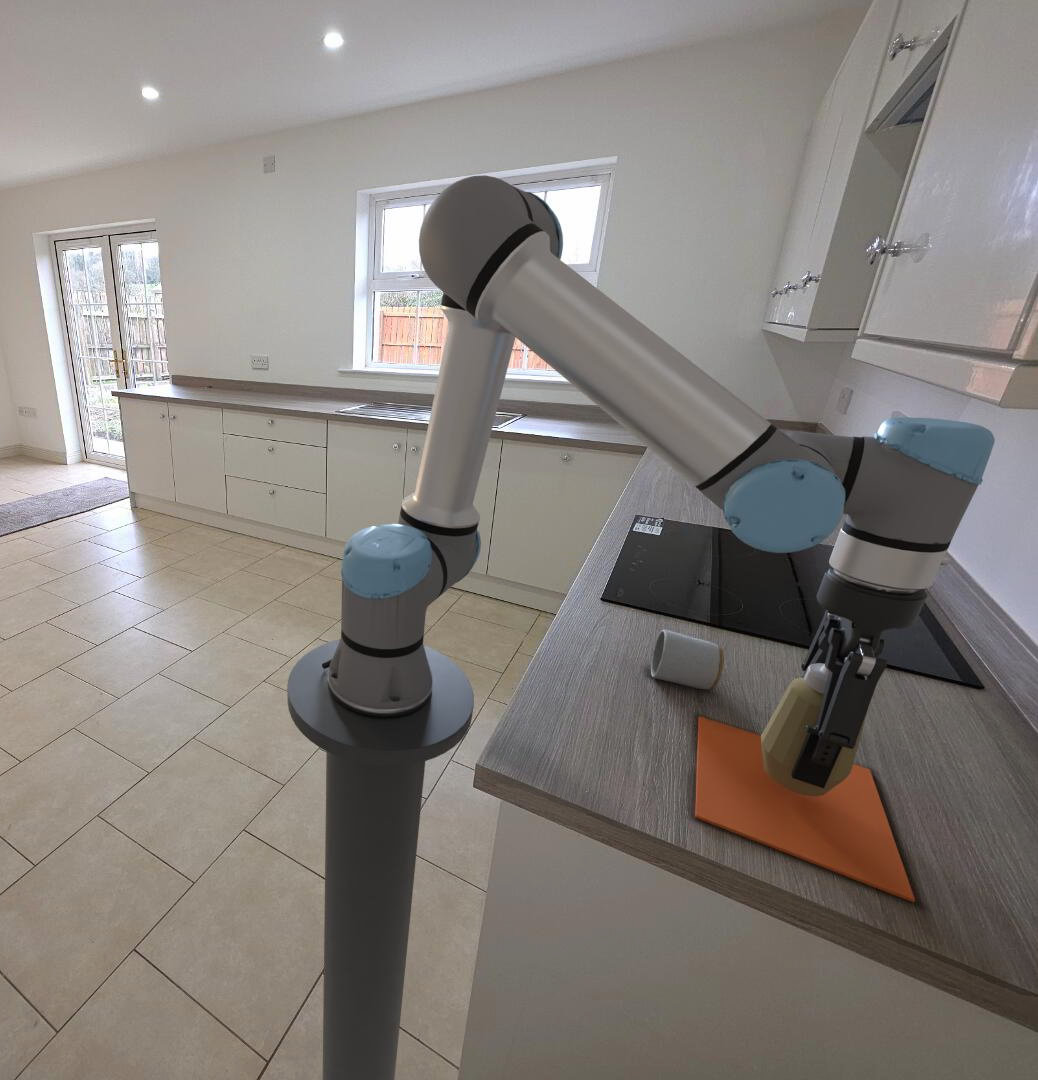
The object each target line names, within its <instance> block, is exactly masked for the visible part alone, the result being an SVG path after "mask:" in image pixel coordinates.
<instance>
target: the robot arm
mask: <svg viewBox="0 0 1038 1080" xmlns="http://www.w3.org/2000/svg"><path fill="white" fill-rule="evenodd" d="M563 248H564V234H563V230H562V226H561V223H560V220H559V218H558V216H557V215H556V214H555V212H554V211H553V210H552V209H551V207H550V205H549V204H548V203H547V202H546V201H545V200H543V199H542V198H541V197H540V196H539V195H536V194H535V193H533V192H531V191H526V190H522V189H521V188H518V187H516V186H514V185H512V184H510V183H508V182H507V181H505V180H503V179H501V178H497V177H495V176H490V175H485V174H484V175H472V176H468V177H465V178H462V179H459V180H457V181H454V182H453V183H452V184H451V185H449V186H448V187H445V188H444V189H443V190H442V191H441V192H440V193H439V195H438V196H437V197H436V198H435V199H434V200H433V201H432V202H431V204H430V205H429V207H428V209H427V211H426V212H425V215H424V217H423V220H422V222H421V226H420V231H419V236H418V253H419V257H420V262H421V265H422V268H423V270H424V272H425V274H426V276H427V277H428V279H429V280H430V282H431V283H433V284H434V286H435V287H436V288H437V289H439V290H440V291H441V292H442V297H441V302H440V307H439V308H440V310H441V311H442V313H443V315H444V316H445V318H446V319H447V322H448V327H447V332H446V337H445V342H444V346H443V352H442V356H441V361H440V366H439V371H438V376H437V380H436V381H437V382H436V385H435V391H434V396H433V399H432V405H431V411H430V416H429V420H428V425H427V430H426V435H425V439H424V444H423V450H422V455H421V459H420V460H421V461H420V463H419V470H418V474H417V479H416V484H415V489H414V492H413V493H410V494H409V495H407V496H406V497H404V498H403V500H402V502H401V506H400V511H399V516H398V521H397V523H384V524H383V523H382V524H380V526H375V525H371V526H368V527H365V528H363V529H360V530H359V531H357V532H356V533H354V534H353V535H352V536H351V537H350V538H349V539H347V540H348V541H347V542H346V544H345V546H344V549H343V556H342V562H341V567H340V575H341V617H340V619H341V620H340V625H341V626H340V631H341V632H340V638H339V639H340V641H339V644H338V646H337V649H336V651H335V653H334V656H333V658H332V659H331V660H329V661H327V662H325V663H322V667H323V668H324V669H326V668H328V667H329V670H328V689H329V692H330V694H331V696H332V697H333V699H334V700H335V701H336V702H337V703H338V704H340V705H341V706H342V707H344V708H345V709H347V710H349V711H351V712H353V713H356V714H358V715H362V716H365V717H370V718H377V719H393V718H400V717H404V716H408V715H411V714H413V713H415V712H417V711H419V710H420V709H422V708H423V707H424V706H425V705H426V704H427V703H428V701H429V700H430V697H431V694H432V685H433V679H432V673H431V670H430V666H429V662H428V659H427V655H426V652H425V648H424V646H425V644H424V636H425V627H426V626H425V625H426V615H427V611H428V608H429V606H430V605H431V604H432V603H433V602H435V601H436V600H437V599H438V598H440V597H441V596H442V595H443V594H444V593H446V592H447V591H448V590H449V589H450V588H452V587H453V586H454V585H456V583H459V582H461V581H462V580H463V579H464V578H465V577H466V576H468V574H469V573H470V571H471V570H472V569H473V568H474V566H475V565H476V563H477V561H478V560H479V556H480V553H481V548H482V541H481V534H480V531H479V530H478V527H479V523H480V519H481V514H480V512H479V511H478V510H477V508H476V507H475V505H474V501H475V497H476V492H477V489H478V485H479V481H480V477H481V473H482V470H483V466H484V463H485V462H484V461H485V458H486V453H487V450H488V446H489V443H490V438H491V435H492V431H493V426H494V424H495V418H496V415H497V411H498V408H499V403H500V401H501V400H500V399H501V395H502V393H503V389H504V384H505V380H506V378H507V377H506V376H507V371H508V369H509V365H510V361H511V356H512V353H513V349H514V347H515V346H514V345H515V341H516V339H517V340H519V342H521V343H522V344H523V345H524V346H526V347H527V348H528V349H529V350H530V351H531V352H533V353H534V354H535V355H536V356H538V357H539V358H540V359H541V360H542V361H543V362H544V363H546V364H547V365H548V366H550V367H551V368H552V369H553V370H554V371H555V372H557V374H559V375H560V376H561V377H563V378H564V379H565V380H566V381H567V382H569V383H570V385H572V386H574V387H575V388H576V389H577V390H578V391H579V392H581V393H582V394H583V395H584V396H586V397H587V398H588V399H589V400H590V401H592V402H593V403H594V404H595V406H598V407H599V408H600V409H601V410H602V411H604V412H605V413H606V414H607V415H608V416H610V417H611V418H612V419H613V420H614V421H616V422H617V423H618V424H619V425H620V426H622V427H623V428H624V429H625V430H627V432H629V433H630V434H631V435H633V436H634V437H635V438H636V439H637V440H638V441H639V442H641V443H642V444H643V445H644V446H646V448H648V449H649V450H651V451H652V452H653V453H654V454H655V455H656V456H657V457H659V458H660V459H661V460H662V461H664V462H665V463H666V464H667V465H668V466H670V467H671V468H672V469H673V470H674V471H676V472H677V473H678V474H679V475H680V476H682V477H683V478H684V479H685V480H686V481H687V482H689V483H690V484H691V485H693V487H695V488H696V489H697V490H698V491H699V492H700V493H701V494H702V495H703V496H704V497H706V498H707V499H708V500H709V501H710V502H711V503H713V504H714V505H715V506H716V507H718V508H719V509H720V510H721V511H722V513H723V517H724V519H725V521H726V522H727V524H728V526H729V528H730V531H731V532H732V533H733V534H734V535H735V537H736V538H737V539H739V540H740V541H741V542H743V543H744V544H746V545H747V546H750V547H752V548H754V549H755V550H756V549H757V550H759V551H764V552H768V553H773V554H774V553H775V554H788V553H796V552H801V551H804V550H808V549H810V548H812V547H815V546H816V545H819V544H821V543H823V542H824V541H825V540H826V539H827V538H829V537H830V536H831V535H832V534H833V533H834V532H835V531H836V529H837V528H838V526H839V525H840V523H841V521H842V518H843V515H846V516H845V517H846V518H845V520H844V522H843V524H842V526H841V528H840V530H839V532H838V536H837V538H836V540H835V544H834V546H833V549H832V552H831V554H830V558H829V560H828V563H829V566H830V568H828V569H826V570H825V572H824V575H823V577H822V580H821V583H820V586H819V588H818V590H817V593H816V601H817V602H818V604H819V605H820V606H821V607H822V608H823V609H825V612H824V615H823V618H822V620H821V621H820V624H819V626H818V628H817V630H816V632H815V635H814V637H813V639H812V642H811V643H810V646H809V648H808V651H807V652H806V655H805V657H804V659H803V661H802V663H801V664H800V668H801V671H803V672H804V673H803V674H801V677H800V678H804V677H805V674H806V672H807V669H808V667H809V666H810V665H811V664H816V663H823V664H825V667H826V668H827V669H828V670H829V675H828V679H827V683H826V687H825V691H824V695H823V699H822V702H821V706H820V710H819V714H818V718H817V722H816V726H815V727H811V726H807V725H806V727H805V731H806V732H808V734H807V737H806V739H805V742H804V744H803V746H802V749H801V751H800V754H799V756H798V759H797V761H796V763H795V766H794V768H793V771H792V773H791V774H792V778H794V779H797V780H800V781H803V782H806V783H809V784H812V785H815V786H818V787H821V788H824V787H825V785H826V783H827V781H828V778H829V776H830V774H831V772H832V769H833V767H834V765H835V763H836V760H837V758H838V756H839V754H840V751H841V749H842V747H846V748H849V749H853V748H854V746H855V745H856V740H857V737H858V735H859V732H860V729H861V726H862V724H863V721H864V718H865V715H866V713H867V714H868V711H869V707H870V704H871V701H872V699H873V696H874V693H875V691H876V688H877V685H878V682H879V681H880V679H881V678H882V675H883V673H884V672H885V670H886V669H887V667H888V663H887V662H888V661H887V659H885V658H881V657H879V656H880V655H882V653H883V649H884V645H885V639H884V638H882V633H883V632H884V631H887V630H893V629H894V630H895V629H896V630H899V629H907V628H909V627H912V626H913V625H915V623H916V622H917V619H918V618H919V616H920V614H921V611H922V608H923V606H924V605H925V603H926V600H927V597H928V593H927V592H926V590H925V589H928V588H930V587H932V585H933V583H934V581H935V579H936V576H937V574H938V572H939V569H940V567H941V566H948V565H949V564H951V562H952V559H951V556H950V555H947V553H948V550H949V548H950V546H951V543H952V541H953V538H954V537H955V534H956V532H957V530H958V528H959V526H960V523H961V522H962V520H963V517H964V516H965V513H966V511H967V509H968V507H969V506H970V503H971V502H972V499H973V497H974V495H975V494H976V491H977V489H978V487H979V486H981V485H982V483H983V481H984V480H983V476H984V473H985V471H986V468H987V465H988V462H989V459H990V457H991V454H992V451H993V448H994V445H995V441H996V439H995V436H994V434H993V432H992V431H991V430H990V429H989V428H986V427H984V426H982V425H980V424H975V423H972V422H966V421H959V420H953V419H941V418H931V417H909V416H897V417H890V418H888V419H885V420H883V422H882V423H881V424H880V426H879V428H878V430H876V432H874V434H873V436H865V435H863V436H849V435H837V434H828V433H827V434H826V433H818V432H810V431H800V430H791V429H790V430H789V429H779V428H778V427H776V426H775V425H773V424H772V423H771V422H770V421H769V420H767V419H766V418H765V417H764V416H763V415H761V414H760V413H758V412H757V411H756V410H755V409H753V408H752V407H751V406H749V405H748V404H747V403H745V402H744V401H743V400H741V398H739V397H738V396H737V395H735V394H734V393H733V392H732V391H730V390H729V389H727V388H726V387H725V386H724V385H722V384H721V383H720V382H718V381H717V380H716V379H715V378H714V377H712V376H711V375H710V374H708V373H707V372H706V371H704V370H703V369H702V368H700V367H699V366H698V365H697V364H695V363H694V362H693V361H692V360H691V359H689V358H687V357H686V356H685V355H684V354H682V353H681V352H680V351H678V349H676V348H675V347H673V346H672V345H671V344H669V343H668V342H667V341H666V340H664V339H663V338H662V337H661V336H659V335H658V334H657V333H655V332H654V331H653V330H652V329H650V328H649V327H647V326H646V325H645V324H643V323H642V321H640V320H638V319H637V318H636V317H634V316H633V315H632V314H631V313H630V312H629V311H627V310H626V309H624V308H623V307H622V306H620V305H619V304H618V303H617V302H615V301H614V300H612V299H611V298H610V297H609V296H608V295H606V294H605V293H604V292H602V291H601V290H600V289H598V287H596V286H594V285H593V284H592V283H591V282H589V280H587V279H586V278H585V277H583V276H581V275H580V274H579V273H578V272H577V271H576V270H574V269H573V268H572V267H570V266H569V265H568V264H567V263H565V262H564V261H563V260H561V259H562V255H563ZM836 661H837V662H841V663H844V665H843V666H842V665H838V664H836ZM867 710H868V711H867ZM866 716H867V715H866ZM865 719H866V718H865Z"/></svg>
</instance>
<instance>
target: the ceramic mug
mask: <svg viewBox="0 0 1038 1080" xmlns="http://www.w3.org/2000/svg"><path fill="white" fill-rule="evenodd" d="M724 653H725V652H724V651H723V648H722V647H721V646H720V645H718V644H716V643H714V642H711V641H708V640H705V639H702V638H696V637H693V636H689V635H687V634H682V633H680V632H675V631H672V630H668V629H663V630H661V631H660V632H659V634H658V636H657V638H656V641H655V644H654V647H653V652H652V658H651V664H650V674H651V677H652V678H654V679H656V680H661V681H665V682H668V683H673V684H678V685H682V686H687V687H691V688H695V689H698V690H713V689H715V688H716V687H717V685H718V684H719V682H720V680H721V677H722V675H723V672H724V671H723V670H724V666H725V654H724Z"/></svg>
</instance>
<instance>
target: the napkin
mask: <svg viewBox="0 0 1038 1080" xmlns="http://www.w3.org/2000/svg"><path fill="white" fill-rule="evenodd" d="M697 720H698V721H697V722H698V723H697V749H696V751H697V752H696V776H695V779H696V780H695V807H694V809H695V810H694V818H695V819H698V820H701V821H703V822H706V823H707V824H711V825H712V826H715V827H718V828H721V829H724V830H726V831H728V832H731V833H733V834H736V835H739V836H740V837H741V836H742V837H744V838H747V839H749V840H751V841H754V842H757V843H760V844H762V845H764V846H767V847H770V848H772V849H775V850H777V851H779V852H782V853H785V854H788V855H790V856H793V857H795V858H798V859H800V860H803V861H806V862H808V863H811V864H813V865H816V866H818V867H821V868H824V869H826V870H829V871H831V872H833V873H837V874H839V875H842V876H844V877H847V878H850V879H852V880H855V881H856V882H860V883H862V884H865V885H867V886H869V887H873V888H875V889H878V890H880V891H883V892H885V893H888V894H891V895H893V896H896V897H898V898H901V899H904V900H906V901H908V902H911V903H915V901H916V898H915V895H914V892H913V890H912V887H911V883H910V880H909V879H908V875H907V873H906V870H905V865H904V864H903V861H902V858H901V855H900V852H899V850H898V846H897V843H896V841H895V838H894V835H893V832H892V829H891V826H890V823H889V821H888V817H887V815H886V811H885V808H884V806H883V802H882V801H881V800H882V799H881V797H880V795H879V792H878V789H877V786H876V783H875V780H874V777H873V774H872V770H871V769H870V768H867V767H865V766H861V765H857V764H854V763H853V766H852V770H851V773H850V774H849V775H848V777H847V778H846V779H845V780H843V781H842V782H841V783H839V784H838V785H836V786H835V787H834V788H832V789H831V790H830V791H828V792H827V793H826V794H824V795H821V796H816V797H814V796H807V795H802V794H799V793H796V792H793V791H791V790H789V789H787V788H785V787H783V786H781V785H780V784H778V783H777V782H776V781H774V780H773V779H772V778H771V777H769V775H768V774H767V773H766V771H765V770H764V763H763V753H762V743H761V735H762V734H761V735H760V734H758V733H756V732H755V733H754V732H751V731H748V730H744V729H742V728H739V727H735V726H732V725H729V724H726V723H722V722H720V721H717V720H714V719H713V720H712V719H709V718H706V717H703V716H700V715H699V716H698V719H697Z"/></svg>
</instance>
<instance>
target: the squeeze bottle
mask: <svg viewBox="0 0 1038 1080" xmlns="http://www.w3.org/2000/svg"><path fill="white" fill-rule="evenodd" d="M836 664H838V665H842V666H843V665H844V663H841V662H837V661H836ZM828 675H829V670H828V669H827V668H826V667H825V664H823V663H816V664H811V665H810V666H809V667H808V669H807V672H806V674H805V677H804V678H801V677H798V678H794V679H793V680H792V681H791V682H790V683H789V685H788V687H787V688H786V689H785V691H784V693H783V695H782V697H781V699H780V701H779V702H778V704H777V706H776V707H775V709H774V712H773V714H772V715H771V717H770V719H769V721H768V722H767V724H766V726H765V728H764V729H763V732H762V733H761V743H762V753H763V763H764V770H765V771H766V773H767V774H768V775H769V777H771V778H772V779H773V780H774V781H776V782H777V783H778V784H780V785H781V786H783V787H785V788H787V789H789V790H791V791H793V792H796V793H799V794H802V795H807V796H814V797H816V796H821V795H824V794H826V793H827V792H828V791H830V790H831V789H832V788H834V787H835V786H836V785H838V784H839V783H841V782H842V781H843V780H845V779H846V778H847V777H848V775H849V774H850V773H851V770H852V766H853V764H854V763H855V759H856V755H857V752H858V748H859V744H860V740H861V736H862V733H863V729H864V727H865V726H864V725H865V722H866V718H867V715H868V711H869V709H868V710H867V713H866V715H865V718H864V721H863V724H862V726H861V729H860V732H859V735H858V737H857V740H856V745H855V746H854V748H853V749H849V748H846V747H842V749H841V751H840V754H839V756H838V758H837V760H836V763H835V765H834V767H833V769H832V772H831V774H830V776H829V778H828V781H827V783H826V785H825V787H824V788H821V787H818V786H815V785H812V784H809V783H806V782H803V781H800V780H797V779H794V778H792V774H791V773H792V771H793V768H794V766H795V763H796V761H797V759H798V756H799V754H800V751H801V749H802V746H803V744H804V742H805V739H806V737H807V734H808V732H806V731H805V727H806V725H807V726H811V727H815V726H816V722H817V718H818V714H819V710H820V706H821V702H822V699H823V695H824V691H825V687H826V683H827V679H828Z"/></svg>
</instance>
